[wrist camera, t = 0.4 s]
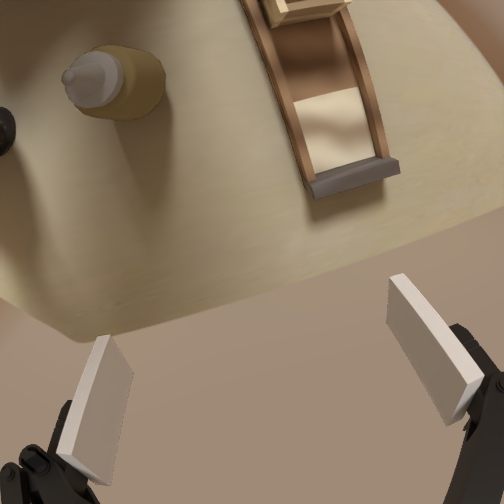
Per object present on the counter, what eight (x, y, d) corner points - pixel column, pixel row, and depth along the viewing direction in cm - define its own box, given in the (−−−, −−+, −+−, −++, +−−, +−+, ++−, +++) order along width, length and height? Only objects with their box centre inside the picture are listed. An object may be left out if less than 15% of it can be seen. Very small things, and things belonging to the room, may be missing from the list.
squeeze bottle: (185, 73, 32) (150, 47, 15) (147, 130, 34) (86, 156, 18) (130, 43, 29) (60, 6, 13) (95, 100, 32) (6, 108, 16)
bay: (226, -31, 26) (227, -48, 21) (312, -47, 25) (323, -63, 20) (304, 188, 39) (315, 200, 34) (382, 164, 38) (400, 173, 34)
